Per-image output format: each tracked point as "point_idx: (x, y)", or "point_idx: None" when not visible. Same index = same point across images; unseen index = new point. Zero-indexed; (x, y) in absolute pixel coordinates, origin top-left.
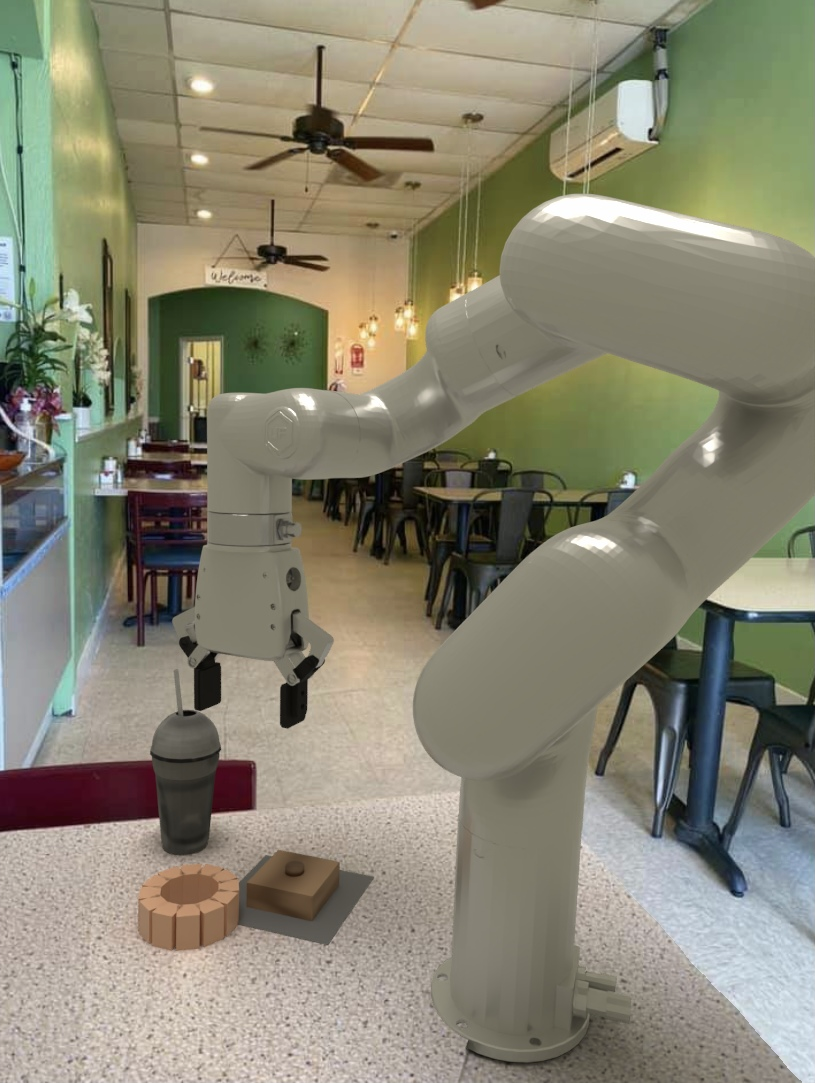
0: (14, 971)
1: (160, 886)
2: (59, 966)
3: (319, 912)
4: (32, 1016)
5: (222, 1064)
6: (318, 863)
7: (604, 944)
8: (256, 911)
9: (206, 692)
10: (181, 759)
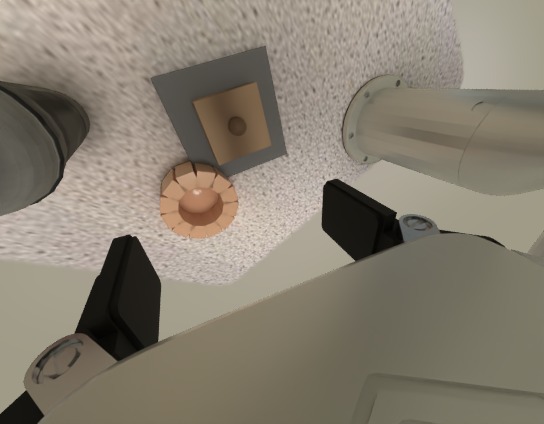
0: (159, 275)
1: (182, 220)
2: (173, 259)
3: None
4: (203, 275)
5: (288, 231)
6: (242, 98)
7: (418, 20)
8: None
9: (152, 296)
10: (49, 191)
